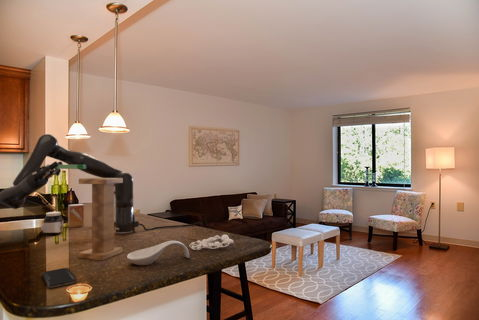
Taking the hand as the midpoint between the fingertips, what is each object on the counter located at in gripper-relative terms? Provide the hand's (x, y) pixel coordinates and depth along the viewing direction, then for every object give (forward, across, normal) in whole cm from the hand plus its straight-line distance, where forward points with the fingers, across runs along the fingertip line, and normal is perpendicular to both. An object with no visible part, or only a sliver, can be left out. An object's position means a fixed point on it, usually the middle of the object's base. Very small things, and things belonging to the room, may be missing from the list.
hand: (59, 163), depth 143 cm
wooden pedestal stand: (+1, 0, +45) cm, 45 cm away
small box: (-51, +45, +15) cm, 70 cm away
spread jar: (-47, +24, +17) cm, 56 cm away
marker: (+2, 0, +4) cm, 5 cm away
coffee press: (-36, +58, +24) cm, 72 cm away
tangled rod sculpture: (+36, +25, +65) cm, 78 cm away
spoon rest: (+25, 0, +59) cm, 64 cm away
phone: (+7, -28, +48) cm, 56 cm away
